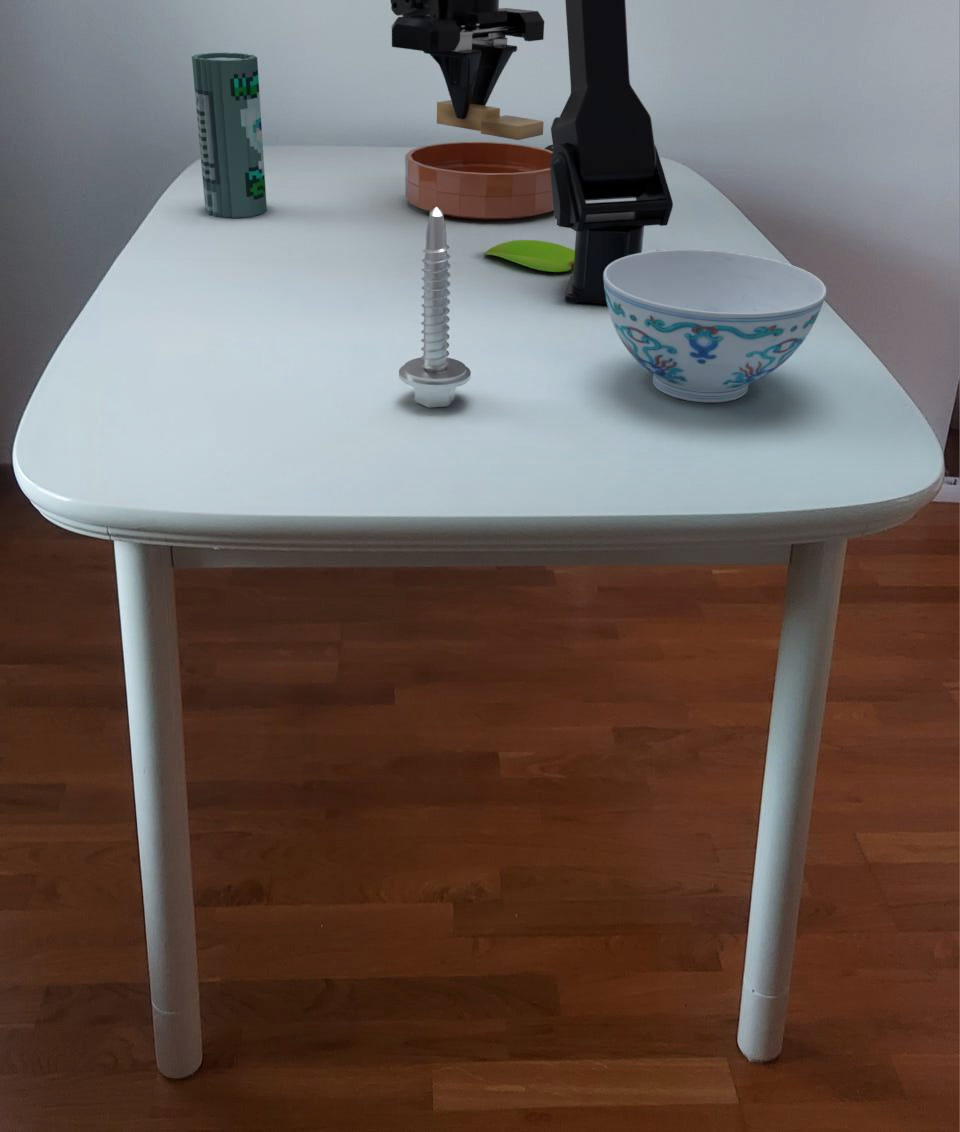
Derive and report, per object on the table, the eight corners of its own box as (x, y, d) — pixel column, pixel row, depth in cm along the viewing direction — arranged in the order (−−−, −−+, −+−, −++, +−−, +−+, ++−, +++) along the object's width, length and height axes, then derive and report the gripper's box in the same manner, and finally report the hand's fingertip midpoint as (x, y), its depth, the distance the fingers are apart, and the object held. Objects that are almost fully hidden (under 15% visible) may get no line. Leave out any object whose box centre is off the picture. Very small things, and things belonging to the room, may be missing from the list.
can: (271, 215, 122) (261, 60, 115) (212, 219, 120) (199, 61, 113) (258, 202, 127) (248, 52, 120) (202, 205, 125) (188, 53, 118)
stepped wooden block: (543, 135, 124) (544, 113, 123) (518, 140, 121) (519, 117, 120) (455, 120, 130) (456, 99, 129) (429, 124, 127) (430, 103, 126)
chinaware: (642, 435, 76) (654, 320, 72) (566, 356, 88) (573, 254, 84) (848, 417, 80) (870, 306, 76) (747, 343, 92) (761, 244, 88)
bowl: (554, 228, 121) (557, 178, 119) (391, 217, 123) (390, 168, 121) (568, 191, 136) (571, 146, 133) (422, 182, 138) (422, 138, 135)
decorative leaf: (524, 283, 105) (525, 273, 105) (477, 253, 112) (477, 243, 111) (596, 268, 108) (596, 258, 108) (546, 240, 115) (546, 230, 114)
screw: (432, 420, 77) (384, 399, 80) (484, 402, 80) (436, 382, 83) (434, 220, 71) (382, 205, 74) (491, 208, 74) (438, 194, 76)
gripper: (468, -53, 129) (465, 98, 137) (349, -50, 116) (353, 117, 124) (550, -47, 123) (542, 111, 131) (435, -43, 110) (433, 131, 118)
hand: (468, 117), depth 126 cm, fingers closed on stepped wooden block, 2 cm apart
